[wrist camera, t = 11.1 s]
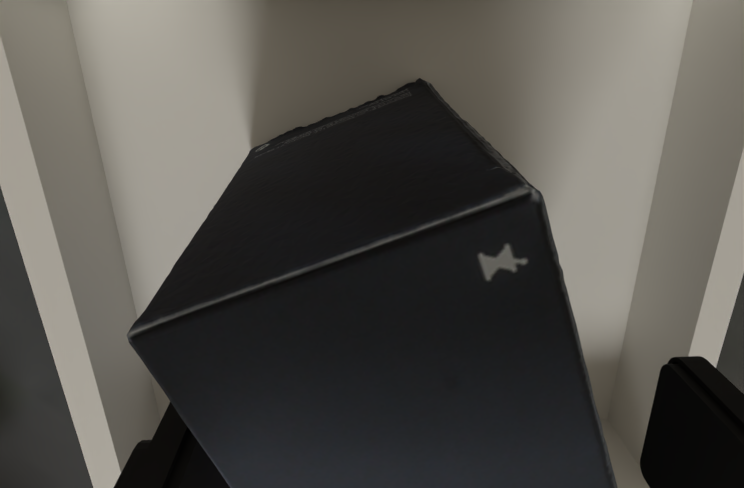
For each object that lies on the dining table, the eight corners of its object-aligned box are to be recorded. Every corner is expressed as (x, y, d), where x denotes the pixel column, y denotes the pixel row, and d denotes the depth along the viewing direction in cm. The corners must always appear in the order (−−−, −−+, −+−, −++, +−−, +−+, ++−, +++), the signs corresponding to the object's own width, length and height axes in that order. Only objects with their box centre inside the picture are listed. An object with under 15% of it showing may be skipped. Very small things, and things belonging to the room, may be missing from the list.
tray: (714, -48, 16) (843, -68, 12) (616, 419, 23) (674, 506, 19) (38, -38, 15) (-75, -57, 11) (152, 443, 22) (109, 539, 18)
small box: (233, 149, 17) (85, 334, 7) (428, 71, 16) (558, 159, 6) (356, 398, 21) (369, 728, 11) (516, 343, 20) (675, 643, 11)
